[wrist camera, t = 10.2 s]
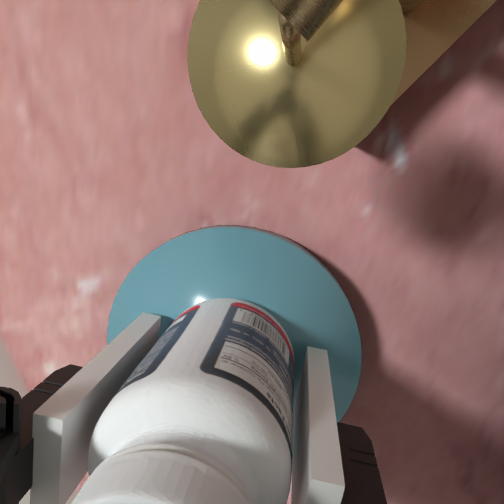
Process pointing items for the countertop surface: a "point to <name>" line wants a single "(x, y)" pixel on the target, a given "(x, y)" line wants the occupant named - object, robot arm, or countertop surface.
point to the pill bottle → (201, 415)
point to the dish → (250, 294)
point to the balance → (313, 69)
